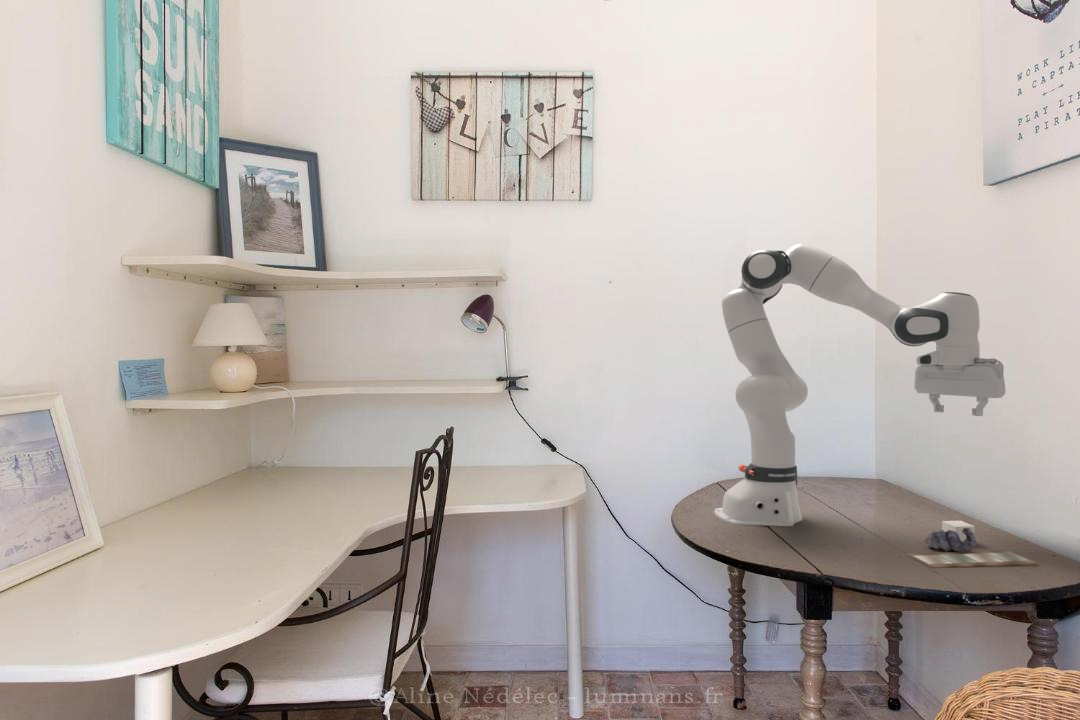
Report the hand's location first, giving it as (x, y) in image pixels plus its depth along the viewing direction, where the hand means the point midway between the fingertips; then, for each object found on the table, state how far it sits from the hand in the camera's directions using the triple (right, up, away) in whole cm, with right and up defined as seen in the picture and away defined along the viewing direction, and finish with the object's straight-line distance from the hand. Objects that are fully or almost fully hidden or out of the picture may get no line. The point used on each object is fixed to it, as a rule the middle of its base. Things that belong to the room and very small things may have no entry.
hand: (957, 414), depth 151 cm
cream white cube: (-5, -29, -8) cm, 31 cm away
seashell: (-7, -26, -17) cm, 32 cm away
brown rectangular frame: (-11, -30, -20) cm, 38 cm away
